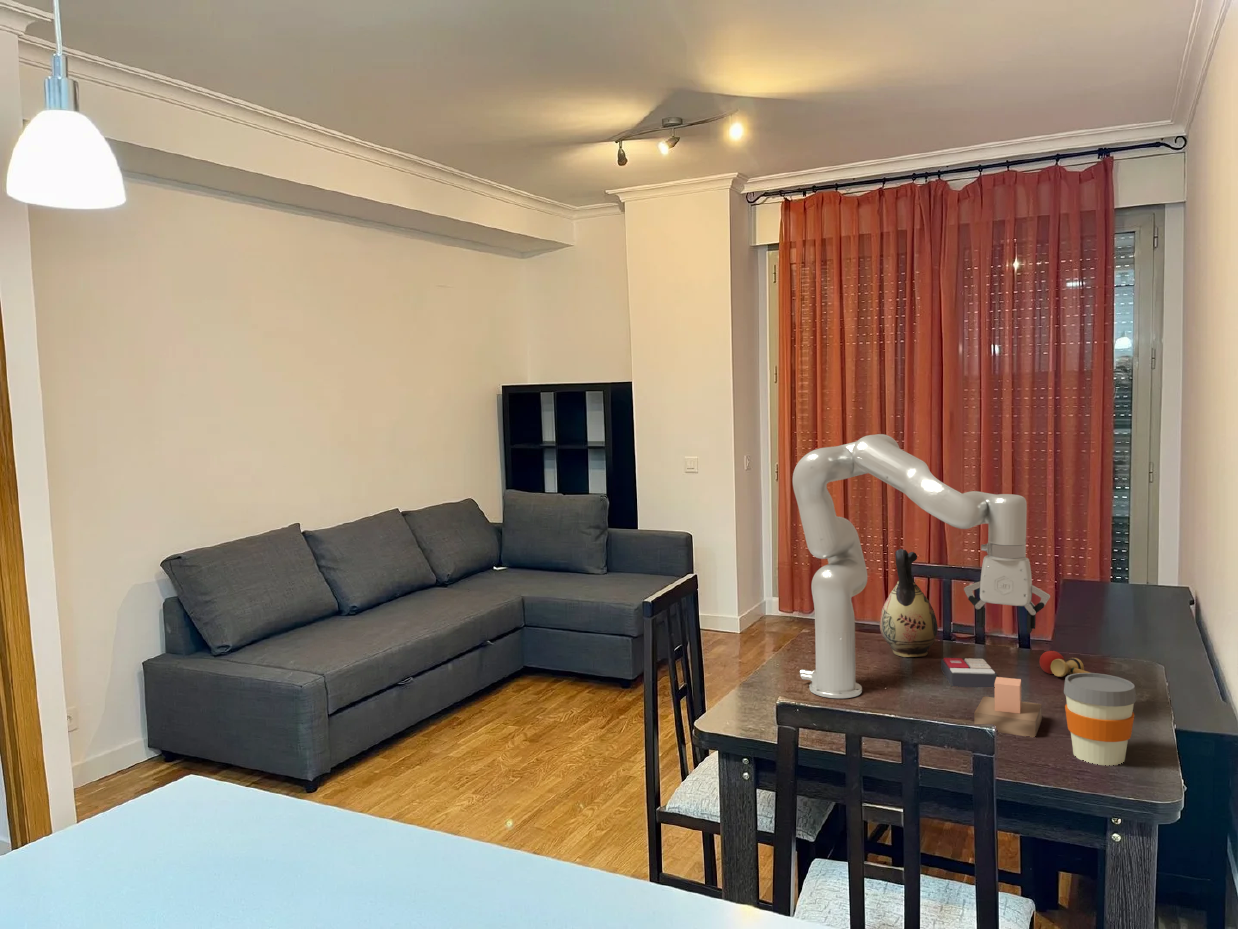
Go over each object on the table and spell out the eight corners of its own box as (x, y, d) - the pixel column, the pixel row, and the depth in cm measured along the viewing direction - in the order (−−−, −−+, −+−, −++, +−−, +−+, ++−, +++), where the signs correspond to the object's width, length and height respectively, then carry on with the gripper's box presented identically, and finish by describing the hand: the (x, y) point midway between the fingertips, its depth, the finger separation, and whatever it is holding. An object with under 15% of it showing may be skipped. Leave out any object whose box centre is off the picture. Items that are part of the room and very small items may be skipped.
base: (974, 730, 193) (974, 712, 192) (983, 713, 203) (983, 696, 203) (1035, 740, 186) (1035, 721, 186) (1041, 722, 197) (1041, 704, 196)
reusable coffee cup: (1071, 740, 185) (1072, 669, 184) (1140, 753, 177) (1141, 679, 176) (1056, 759, 175) (1056, 684, 174) (1128, 775, 167) (1129, 696, 166)
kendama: (1116, 691, 218) (1053, 663, 234) (1117, 668, 216) (1053, 641, 232) (1095, 702, 215) (1032, 673, 231) (1095, 679, 213) (1032, 651, 229)
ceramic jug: (887, 643, 261) (887, 542, 259) (942, 650, 253) (942, 545, 251) (871, 658, 246) (871, 551, 244) (929, 665, 238) (929, 554, 236)
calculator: (984, 657, 233) (997, 671, 219) (985, 674, 233) (998, 689, 219) (940, 656, 236) (950, 670, 221) (940, 672, 236) (950, 687, 221)
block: (994, 710, 193) (994, 683, 193) (996, 703, 198) (996, 676, 197) (1020, 713, 191) (1019, 686, 190) (1021, 706, 195) (1021, 679, 195)
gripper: (961, 551, 195) (960, 628, 196) (1048, 557, 186) (1047, 638, 187) (968, 545, 201) (967, 620, 202) (1052, 551, 192) (1051, 630, 193)
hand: (1005, 628), depth 195 cm, fingers open, 9 cm apart
